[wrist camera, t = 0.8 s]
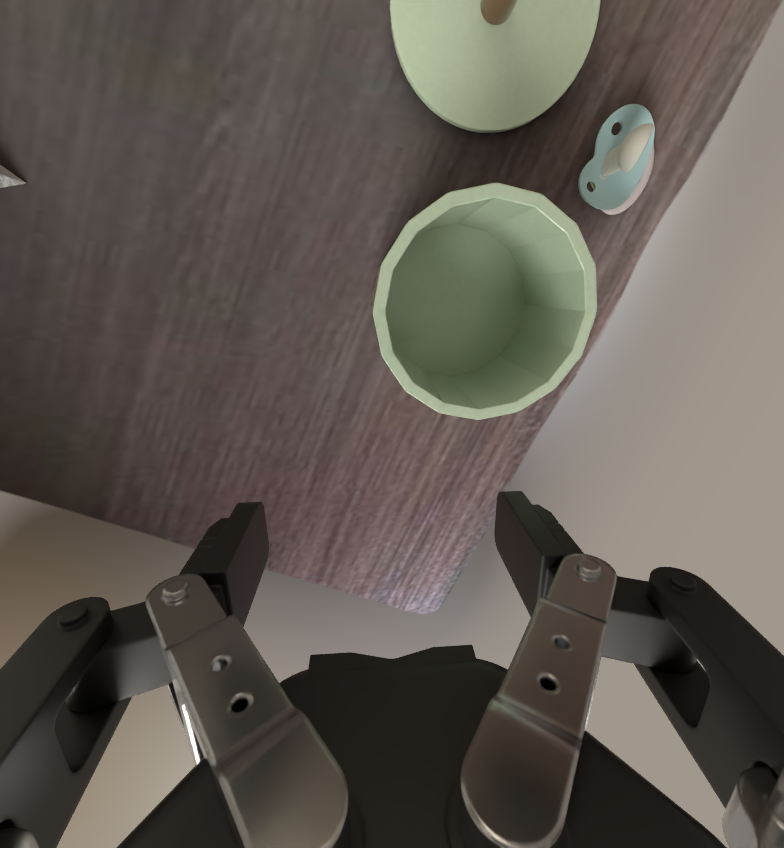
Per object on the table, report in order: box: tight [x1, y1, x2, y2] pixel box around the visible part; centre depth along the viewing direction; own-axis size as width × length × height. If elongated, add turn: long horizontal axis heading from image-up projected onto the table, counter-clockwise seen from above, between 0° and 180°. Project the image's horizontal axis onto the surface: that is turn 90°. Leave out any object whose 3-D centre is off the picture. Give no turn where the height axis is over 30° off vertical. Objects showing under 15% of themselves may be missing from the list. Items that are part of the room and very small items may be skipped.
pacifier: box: [578, 104, 655, 215], centre depth 31 cm, size 7×6×6 cm
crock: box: [371, 182, 597, 420], centre depth 32 cm, size 14×14×12 cm
